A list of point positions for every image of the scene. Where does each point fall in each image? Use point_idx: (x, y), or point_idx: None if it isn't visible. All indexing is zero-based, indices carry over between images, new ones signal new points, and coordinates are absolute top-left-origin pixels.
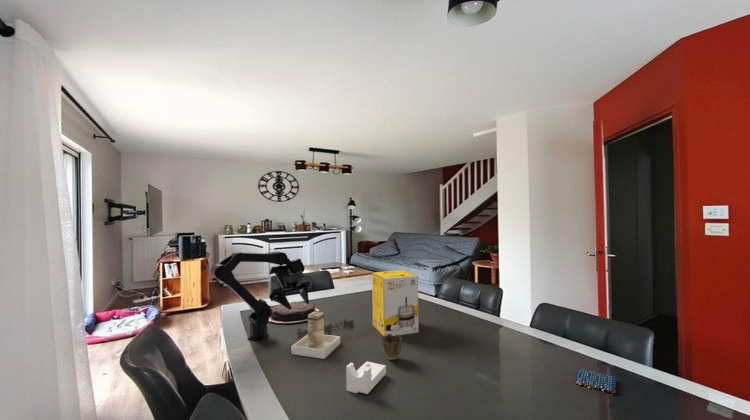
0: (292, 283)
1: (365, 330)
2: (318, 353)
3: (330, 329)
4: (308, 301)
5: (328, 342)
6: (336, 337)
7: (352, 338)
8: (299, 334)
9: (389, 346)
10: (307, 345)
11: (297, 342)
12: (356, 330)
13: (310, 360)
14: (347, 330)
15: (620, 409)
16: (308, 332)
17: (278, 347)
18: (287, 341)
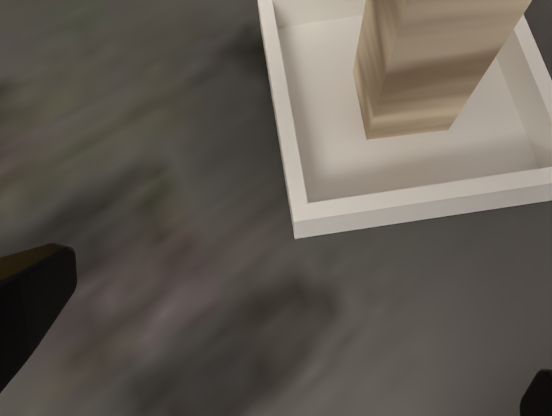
0: None
1: (5, 11)
2: None
3: (45, 226)
4: (39, 253)
5: (301, 74)
6: (273, 10)
7: (155, 13)
8: (232, 407)
9: None
10: (415, 163)
11: (511, 179)
12: (18, 56)
13: (538, 45)
14: (33, 105)
15: None
16: (496, 50)
17: None
18: (407, 398)
